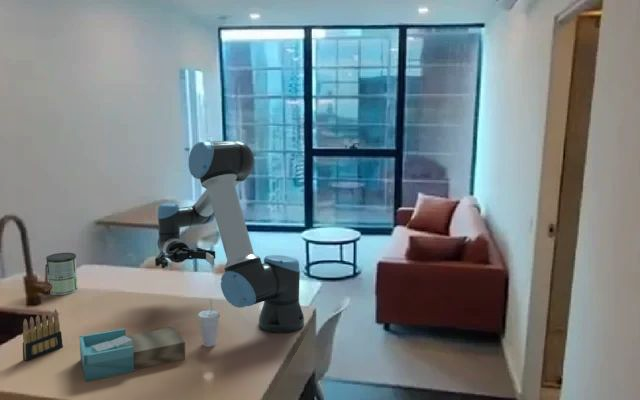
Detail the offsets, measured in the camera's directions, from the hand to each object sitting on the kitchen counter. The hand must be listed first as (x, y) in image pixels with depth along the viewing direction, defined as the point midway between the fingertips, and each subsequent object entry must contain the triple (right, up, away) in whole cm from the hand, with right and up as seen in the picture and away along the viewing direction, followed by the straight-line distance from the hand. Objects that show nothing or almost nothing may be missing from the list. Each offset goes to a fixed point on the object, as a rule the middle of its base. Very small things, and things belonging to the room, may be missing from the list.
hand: (192, 263), depth 163 cm
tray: (-17, -25, -24) cm, 39 cm away
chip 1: (-17, -21, -28) cm, 39 cm away
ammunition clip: (-38, -24, -18) cm, 49 cm away
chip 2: (-13, -20, -25) cm, 35 cm away
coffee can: (-59, -15, +34) cm, 70 cm away
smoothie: (+8, -23, -10) cm, 27 cm away
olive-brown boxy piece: (-6, -24, -18) cm, 31 cm away
